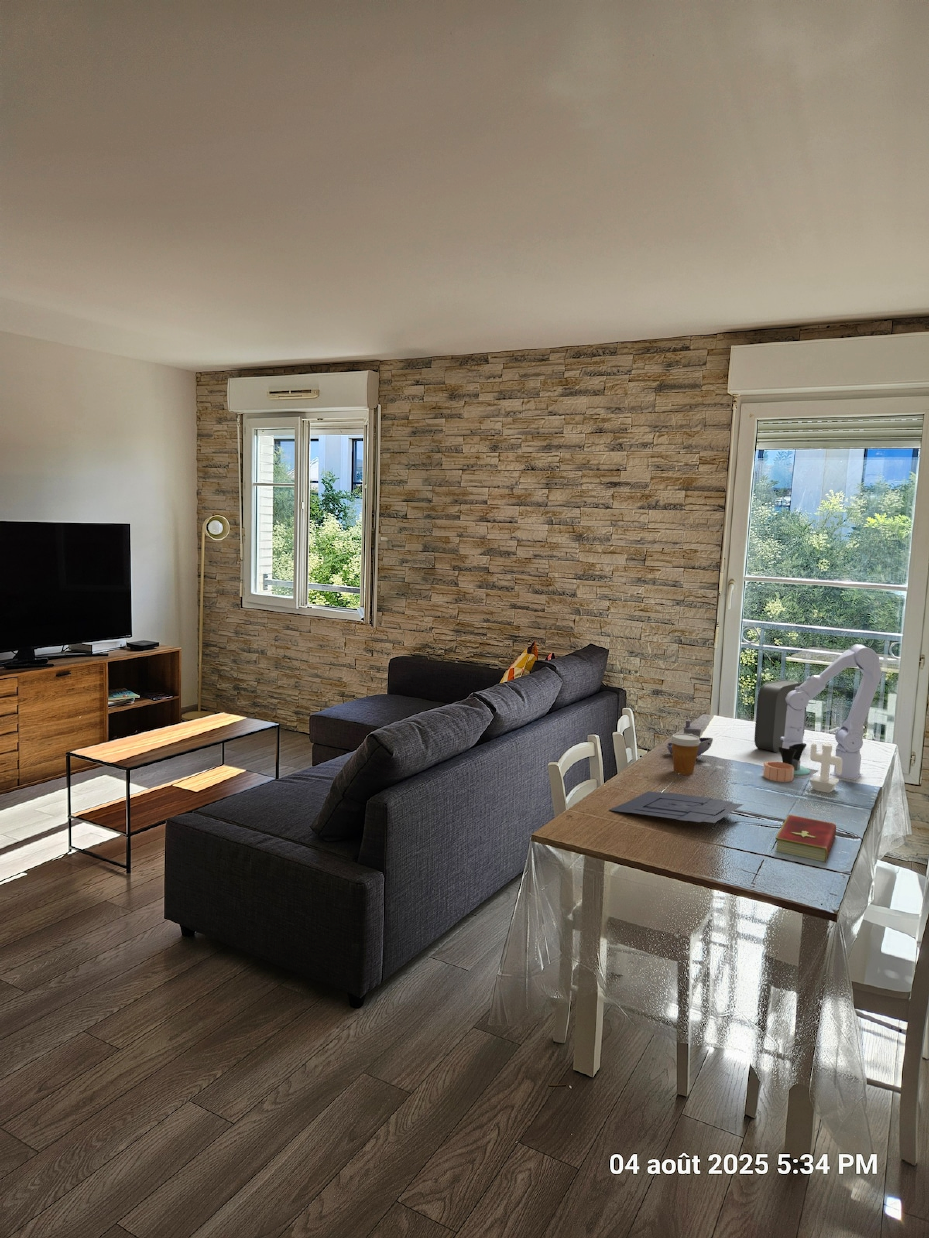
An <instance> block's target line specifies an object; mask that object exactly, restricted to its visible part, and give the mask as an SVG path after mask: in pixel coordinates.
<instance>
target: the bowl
mask: <svg viewBox="0 0 929 1238" xmlns="http://www.w3.org/2000/svg"><path fill="white" fill-rule="evenodd" d="M762 771H763V772H762V776H763V778H765V779H768V780H771V781H774V782H783V783H786V782H792V781H793V780H794V777H793V776H794V766H793V765H790V764H787V763H783V761H776V760H775V761H773V760H772V761H771V760H770V761H765V762H763V768H762Z"/></svg>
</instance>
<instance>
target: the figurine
mask: <svg viewBox="0 0 929 1238" xmlns="http://www.w3.org/2000/svg"><path fill="white" fill-rule="evenodd" d="M817 748H818V746H817V743H811V745H810V755H809V757H810V761H812V762H815V763H821V766H820V774H819V775H817V774H813V775H812V777H810V778H808V779H809V782H810V785H811V787H812V790H813V791H818V792H822V793H827V794H831V793H832V791H833V790H835V788H836V786H837V784H838V783H839V782H840V779H838V778H833V777H830V769H831V766H836V774H837V775H840V774H841V773H842V758H840V757H836V756H835V755H832V751H833V745H832V743H829V742H828V743H827V742H824V743H822V745H821V750H822V752H821V753H818V752H817V751H818V750H817Z"/></svg>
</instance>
